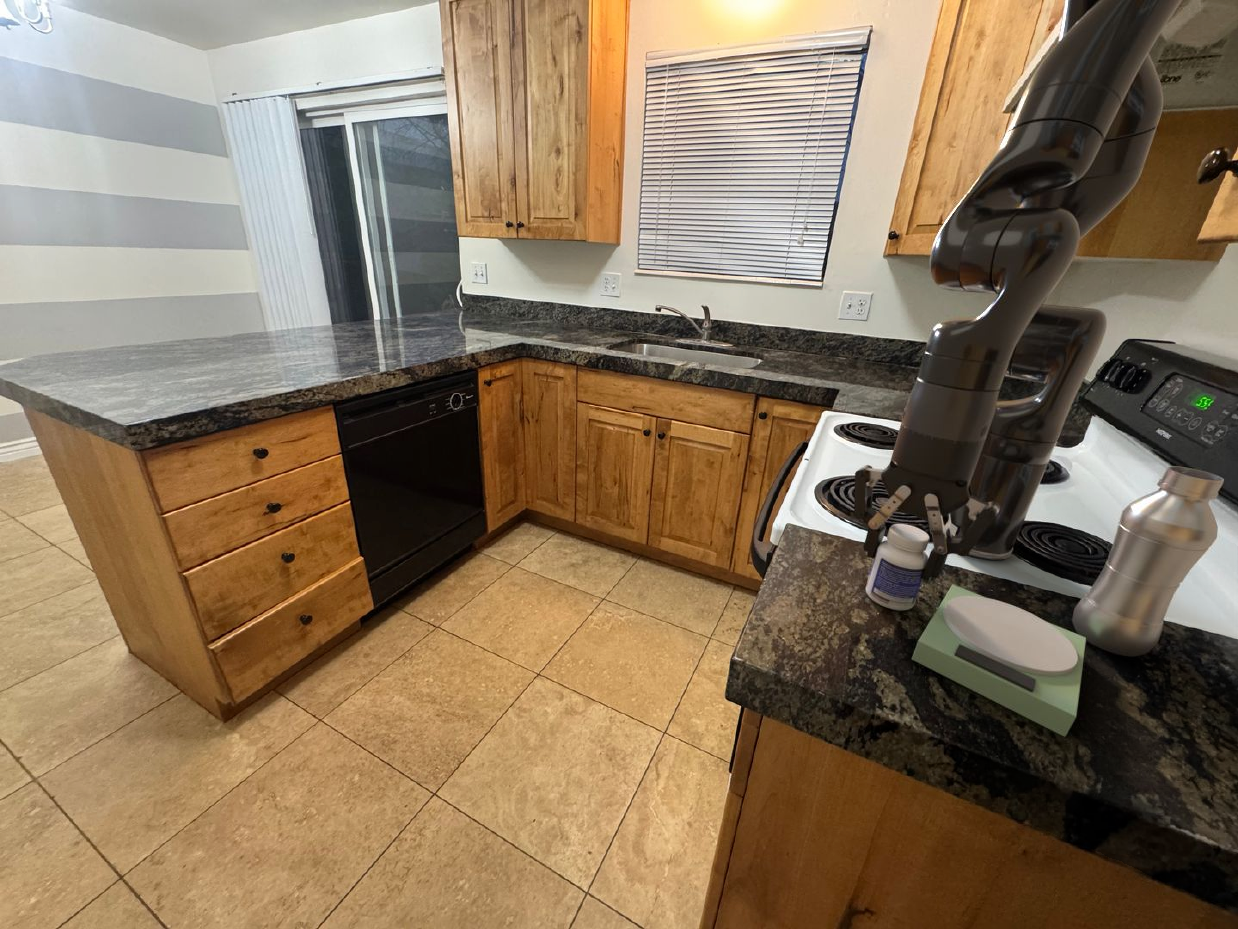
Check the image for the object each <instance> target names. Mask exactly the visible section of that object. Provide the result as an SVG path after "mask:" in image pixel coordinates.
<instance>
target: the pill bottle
mask: <svg viewBox="0 0 1238 929" xmlns="http://www.w3.org/2000/svg"><path fill="white" fill-rule="evenodd" d="M929 542H930V536H929V534H928V533H927V532H926V531H924V530H923V529H921V528H919V527H916V526H913V525H909V524H906V523H905V524H904V523H894V524H892V525H890V526H889V529H888V532H887V535H886V539H885V540H882V542H881V543H880V544H879V545H878V548H877V551H876V554H875V558H874V559H873V562H872V565H871V568H870V572H869V575H868V578H867V582H866V585H865V593H866V594H867V596H868V597H869V598H870V600H872V601H873V602H874V603H876V604H878V605H880V606H882V607H883V608H886V609H890V610H893V611H894V610H895V611H907V610H910V609H912V608H913V607H914V606H915V604H916V601H917V598H918V595H919V593H920V590H921V587H922V584H923V581H924V579H922V576H923V573H924V570H925V567H926V564H927V561H928V558H929V555H928V554H927V552H926V550H927V547H928V545H929Z"/></svg>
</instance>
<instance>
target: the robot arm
mask: <svg viewBox="0 0 1238 929" xmlns="http://www.w3.org/2000/svg"><path fill="white" fill-rule="evenodd" d="M1182 2H1183V0H1064V5H1063V11H1062V18H1061V24H1060V28H1059V34H1058V39H1057V43H1056V44H1055V45H1054V46H1053V48H1051V50H1050V51H1049V53H1048V54H1047V55H1046V56H1045V58H1044V59H1043V60H1042V62H1041V63H1040V64H1039V65H1038V68H1037V69H1036V71H1035V72H1034V73H1033V75H1032V77H1031V79H1030V81H1029V82H1028V83H1027V86H1026V88H1025V90H1024V91H1023V94H1022V96H1021V97H1020V100H1019V102H1018V105H1017V107H1016V109H1015V111H1014V113H1013V115H1012V117H1011V120H1010V123H1009V125H1008V127H1007V129H1006V132H1005V133H1004V135H1003V138H1002V140H1001V142H1000V145H999V147H998V148H997V149H998V150H997V151H996V153H995V154H994V156H993V157H992V159H990V161H989V162H988V164H987V165H986V166H985V168H984V169H983V170H982V171H981V173H980V174H979V176H978V177H977V178H976V180H975V181H974V183H973V184H972V185H971V187H970V188H969V189H968V190H967V192H966V193H965V194H964V195H963V197H962V198H961V200H960V201H959V202H958V203H957V205H956V207H955V208H953V210H952V212H951V213H950V214H949V215H948V217H947V218H946V220H945V221H944V223H943V225H942V226H941V228H940V229H939V231H938V232H937V235H936V237H935V239H934V242H933V244H932V247H931V251H930V255H929V272H930V275H931V278H932V281H933V282H934V283H935V284H936V285H937V286H938V287H940V288H941V289H944V290H947V291H952V292H962V293H963V292H964V293H976V294H977V293H978V294H990V295H997V296H996V297H995V298H994V300H993V302H992V303H991V304H990V305H989V306H988V307H987V308H986V310H984V311H983V312H982V313H981V314H979V315H977V316H972V317H961V318H960V317H959V318H950V319H945V320H942V321H939V322H937V323H936V324H935V325H934V326H933V327H932V329H931V331H930V333H929V336H928V339H927V342H926V345H925V348H924V352H923V355H922V359H921V363H920V366H919V368H918V369H919V370H918V374H917V377H916V380H915V383H914V385H913V387H912V390H911V391H910V394H909V396H908V399H907V402H906V404H905V407H904V409H903V411H902V415H901V423H900V426H899V428H898V429H899V430H898V433H897V437H896V440H895V443H894V447H893V451H892V454H891V458H890V462H889V463H888V465H887V466H886V467H885V468H884V469H883V468H882V469H881V468H874V467H873V466H871V465H869V464H866V465H863V466H862V467H860V468H858V470H856V471H855V473H854V496H853V497H854V498H853V515H854V517H855V518H856V519H858V520H862V521H864V522H865V523H866V524H867V526H868V529H867V532H866V537H865V539H864V543H863V551H864V552H867V553H866V557H867V558H869V559H872V560H874V558H875V554H876V551H877V548H878V545H879V544H880V543H881V542H883V541H884V540H883V539H884V536H885V534H886V530H887V526H886V522H887V521H888V520H889V519H890V517H892V516H893V515H894V513H895V512H896V511H897V512H898V513H901V514H904V515H913V516H915V517H916V518H918V519H919V520H923V521H924V522H927V523H928V527H929V532H930V534H931V537H932V543H933V548H932V549H931V550H930V553H929V555H928V561H927V564H926V567H925V570H924V573H923V576H922V579H923V581H926V582H930V580H931V579H934V580H935V579H936V580H937V578H939V577H940V575H941V574H942V572H943V570H944V567H945V564H946V561H947V559H948V557H949V555H952V554H953V555H957V556H959V557H966V556H968V555H969V556H972V557H976V558H980V559H985V560H994V561H995V560H997V561H999V560H1006V559H1008V558H1010V557H1011V556H1012V554H1013V550H1014V545H1015V544H1016V541H1017V538H1018V536H1019V533H1020V532H1021V530H1022V527H1023V525H1024V522H1025V520H1026V517H1027V515H1028V513H1029V510H1030V507H1031V505H1032V503H1033V501H1034V499H1035V496H1036V493H1037V491H1038V488H1039V487H1040V484H1041V481H1042V479H1043V477H1044V474H1045V472H1046V470H1047V468H1048V464H1049V462H1050V460H1051V456H1052V454H1053V452H1054V450H1055V448H1056V445H1057V443H1058V440H1059V438H1060V435H1061V433H1062V430H1063V428H1064V426H1065V423H1066V420H1067V418H1068V416H1069V413H1070V412H1071V411H1070V410H1071V408H1072V406H1073V404H1074V401H1075V399H1076V397H1077V394H1078V392H1079V390H1080V388H1081V386H1082V384H1083V382H1084V380H1085V378H1086V376H1087V374H1088V372H1089V370H1090V369H1091V366H1092V364H1093V362H1094V360H1095V358H1096V356H1097V354H1098V352H1099V350H1100V347H1101V345H1102V344H1103V339H1104V337H1105V334H1106V331H1107V326H1108V322H1107V321H1108V320H1107V316H1106V314H1105V312H1104V311H1103V310H1101V309H1096V308H1089V307H1081V306H1080V307H1079V306H1068V305H1067V306H1066V305H1055V304H1044V302H1045V301H1046V300H1047V298H1048V297H1049V296H1050V295H1051V293H1053V291H1054V289H1055V288H1056V286H1058V284H1059V282H1060V281H1061V280H1062V278H1063V277H1064V276H1065V274H1066V273H1067V271H1068V269H1069V268H1070V266H1071V264H1072V263H1073V261H1074V259H1075V257H1076V255H1077V251H1078V248H1079V245H1080V241H1081V240H1082V239H1083V238H1084V237H1085V236H1087V234H1089V232H1091V231H1092V230H1093V229H1094V228H1095V227H1096V226H1098V224H1100V223H1101V222H1102V221H1103V220H1104V219H1106V217H1107V216H1108V215H1109V214H1110V213H1111V212H1112V211H1114V209H1116V208H1117V207H1118V206H1119V205H1120V204H1121V203H1122V202H1123V201H1124V200H1125V198H1126V197H1127V196H1128V195H1129V194H1130V193H1131V191H1132V190H1133V189H1134V187H1135V186H1136V184H1137V183H1138V181H1139V179H1140V178H1141V175H1142V173H1143V170H1144V167H1145V164H1146V161H1147V157H1148V155H1149V152H1150V149H1151V146H1152V143H1153V141H1154V137H1155V135H1156V132H1157V128H1158V125H1159V122H1160V119H1161V116H1162V113H1163V108H1164V92H1163V87H1162V83H1161V79H1160V76H1159V74H1158V71H1157V69H1156V66H1155V63H1154V62H1153V59H1152V56H1151V55H1150V52H1151V50H1152V48H1153V47H1154V45H1155V43H1156V41H1157V40H1158V38H1159V37H1160V36H1161V33H1162V32H1163V30H1164V29H1165V27H1166V26H1167V24H1168V23H1169V21H1170V19H1171V18H1172V16H1173V15H1174V14H1175V12H1176V10H1177V9H1178V7H1179V6H1180V5H1181V3H1182ZM1019 206H1020V207H1019ZM1005 378H1013V379H1017V380H1023V381H1028V382H1029V381H1030V382H1035V383H1040V384H1041V383H1042V384H1044V386H1043V389H1041V391H1040V392H1039V393H1036V394H1034V395H1031V396H1028V397H1025V398H1020V399H1012V400H998V398H999V394H1000V390H1001V389H1002V385H1003V382H1004V380H1005ZM879 480H881V482H882V484H883V487H884V488H885V490H886V493H887V495H888V498H889V499H887V501H886V502H885V503H884V504H883V505H882V506H881V507H880V509H879V510H878V511H876V510H875V509H873V497H874V496H873V493H874V487H875V486H877V485H878V483H879Z"/></svg>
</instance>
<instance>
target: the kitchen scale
mask: <svg viewBox="0 0 1238 929" xmlns="http://www.w3.org/2000/svg"><path fill="white" fill-rule="evenodd" d="M1086 643H1087V641H1086V637H1083V636H1081V635H1079V634H1078V633H1077V632H1076V633H1075V632H1073V631H1070V630H1068V629H1066V628H1063V627H1061V626H1058V625H1056V624H1054V623H1050V622H1048V621H1046V620H1044V619H1042V618H1040V617H1038V616H1037V615H1035V614H1033V613H1031V612H1029V611H1027V610H1025V609H1022V608H1020V607H1018V606H1015V605H1014V604H1013V605H1012V604H1010V603H1007V602H1004V601H1001V600H997V599H993V598H989V597H987V596H983V595H981V594H978V593H976V592H973V591H970V590H968V589H965V588H963V587H961V586H958V585H956V584H951V586H950V588H949V590H948V592H947V593H946V595H945V596H944V597H943V600H942V601H941V603H940V604H939V606H938V607H937V609H936V611H935V612H934V614H933V616H932V618H931V619H930V621H929V622H928V624H927V626H926V627H925V629H924V631H923V632H922V634H921V636H920V638H919V639H918V640H917V642H916V646H915V648H914V651H913V654H912V657H911V660H912V661H913V662H915V663H918V664H920V665H922V666H924V667H926V668H928V669H930V670H932V671H934V672H935V673H937V674H940V675H942V676H944V677H946V678H948V679H950V680H951V681H953V682H954V683H957V684H959V685H961V686H963V687H966V688H967V689H969V690H971V691H973V692H975V693H976V694H979V695H981V696H983V697H985V698H987V699H989V700H991V701H992V702H994V703H997V704H999V705H1000V706H1003V707H1004V708H1007V709H1009V710H1010V711H1012V712H1014V713H1017V714H1019V715H1021V716H1022V717H1024V718H1025V719H1028V720H1030V721H1032V722H1034V723H1036V724H1038V725H1039V726H1043V727H1044V728H1046V729H1048V730H1049V731H1052V732H1054V733H1056V734H1058V735H1060V736H1062V737H1064V738H1066V736H1067V735H1068V733H1069V731H1070V729H1071V728H1072V726H1073V724H1074V722H1075V720H1076V719H1077V715H1078V706H1079V698H1080V692H1081V684H1082V675H1083V669H1084V668H1083V666H1084V661H1085V660H1084V658H1085V652H1086V651H1085V650H1086Z"/></svg>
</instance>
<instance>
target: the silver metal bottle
mask: <svg viewBox="0 0 1238 929" xmlns="http://www.w3.org/2000/svg"><path fill="white" fill-rule="evenodd" d="M1224 481H1225V479H1224V478H1223V477H1221V476H1219V475H1217V474H1214V473H1211V472H1208V471H1203V470H1201V469H1196V468H1190V467H1185V466H1177V465H1175V466H1174V465H1171V466H1168V467H1167V468H1166V470H1165V472H1164V473H1163V475H1162V477H1161V478H1159V479H1158V481H1157V483H1156V485H1157V486H1158V487H1159V488H1158V489H1157V490H1156V491H1153V492H1150V493H1148V494H1146V495H1144V496H1141V497H1139V498H1138V499H1136V500H1134V501H1131V502H1130V503H1129V504H1128V505H1127V506H1126V507H1125V508H1124V509H1122V511H1121V514H1120V516H1119V521H1118V523H1117V527H1116V531H1115V535H1114V539H1113V543H1112V545H1111V548H1110V551H1109V554H1108V555H1107V559H1106V561H1105V564H1104V566H1103V568H1102V570H1101V572H1100V574H1099V575H1098V576H1097V578H1096V580H1095V581H1094V583H1093V584H1092V586H1091V587H1090V589H1089V590H1088V591H1087V592H1086V593H1085V594H1084V595H1083V596H1082V597H1081V599H1080V600H1079V601H1078V602H1077V604H1076V606H1075V607H1074V609H1073V614H1072V619H1071V620H1072V621H1071V622H1072V625H1073V628H1074V629H1075V630H1074V631H1075V632H1076V634H1078V635H1081V636H1083V637H1086V642H1088V643H1090V644H1091V645H1093V646H1095V647H1097V648H1099V649H1101V650H1104V651H1106V652H1108V653H1112V654H1115V655H1118V656H1123V657H1138V656H1142V655H1146V654H1148V653H1149V652H1150V651H1151V650H1153V648H1154V647H1155V646H1156V645H1157V644H1158V643H1159V640H1160V638H1161V635H1162V633H1163V632H1162V631H1163V627H1164V620H1165V617H1166V615H1167V612H1168V610H1169V607H1170V605H1171V602H1172V600H1173V598H1174V595H1175V594H1176V592H1177V590H1178V589H1179V588H1180V586H1181V584H1182V583H1183V581H1184V580H1185V578H1186V577H1187V575H1188V574H1189V573H1190V571H1191V570H1192V568H1193V567H1195V565H1197V563H1198V562H1199V560H1200V559H1201V558H1202V557H1203V556H1204V555H1205V554H1206V553H1207V551H1208V550H1209V548H1211V547H1212V546H1213V544H1214V543H1215V542H1216V540H1217V538H1218V531H1219V526H1218V524H1217V520H1216V516H1215V515H1214V513H1213V510H1212V507H1211V506H1210V504H1209V503H1210V501H1211V500H1212V501H1213V500H1216V499H1217V498H1218V496H1219V491H1220V489H1221V488H1222V486H1223V485H1224Z"/></svg>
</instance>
